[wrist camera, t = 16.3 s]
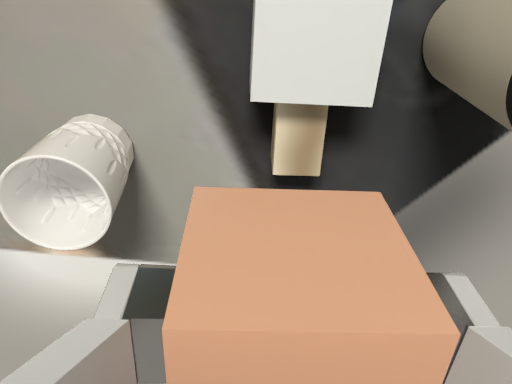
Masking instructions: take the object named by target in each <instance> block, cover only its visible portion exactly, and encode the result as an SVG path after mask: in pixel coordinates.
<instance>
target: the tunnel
mask: <svg viewBox="0 0 512 384" xmlns="http://www.w3.org/2000/svg"><path fill="white" fill-rule="evenodd" d="M392 3H393V0H253V19H252V40H251V61H250V102H271V103H292V104H314V105H335V106H357V107H372V105H373V100H374V95H375V90H376V85H377V80H378V75H379V69H380V64H381V59H382V54H383V49H384V44H385V39H386V34H387V28H388V23H389V18H390V13H391V8H392Z"/></svg>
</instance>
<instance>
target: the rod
mask: <svg viewBox="0 0 512 384" xmlns="http://www.w3.org/2000/svg"><path fill="white" fill-rule="evenodd" d="M328 106H329V105H314V104H292V103H274V113H273V129H272V144H271V163H272V172H273V175H295V176H320V168H321V161H322V153H323V145H324V137H325V130H326V122H327V114H328Z"/></svg>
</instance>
